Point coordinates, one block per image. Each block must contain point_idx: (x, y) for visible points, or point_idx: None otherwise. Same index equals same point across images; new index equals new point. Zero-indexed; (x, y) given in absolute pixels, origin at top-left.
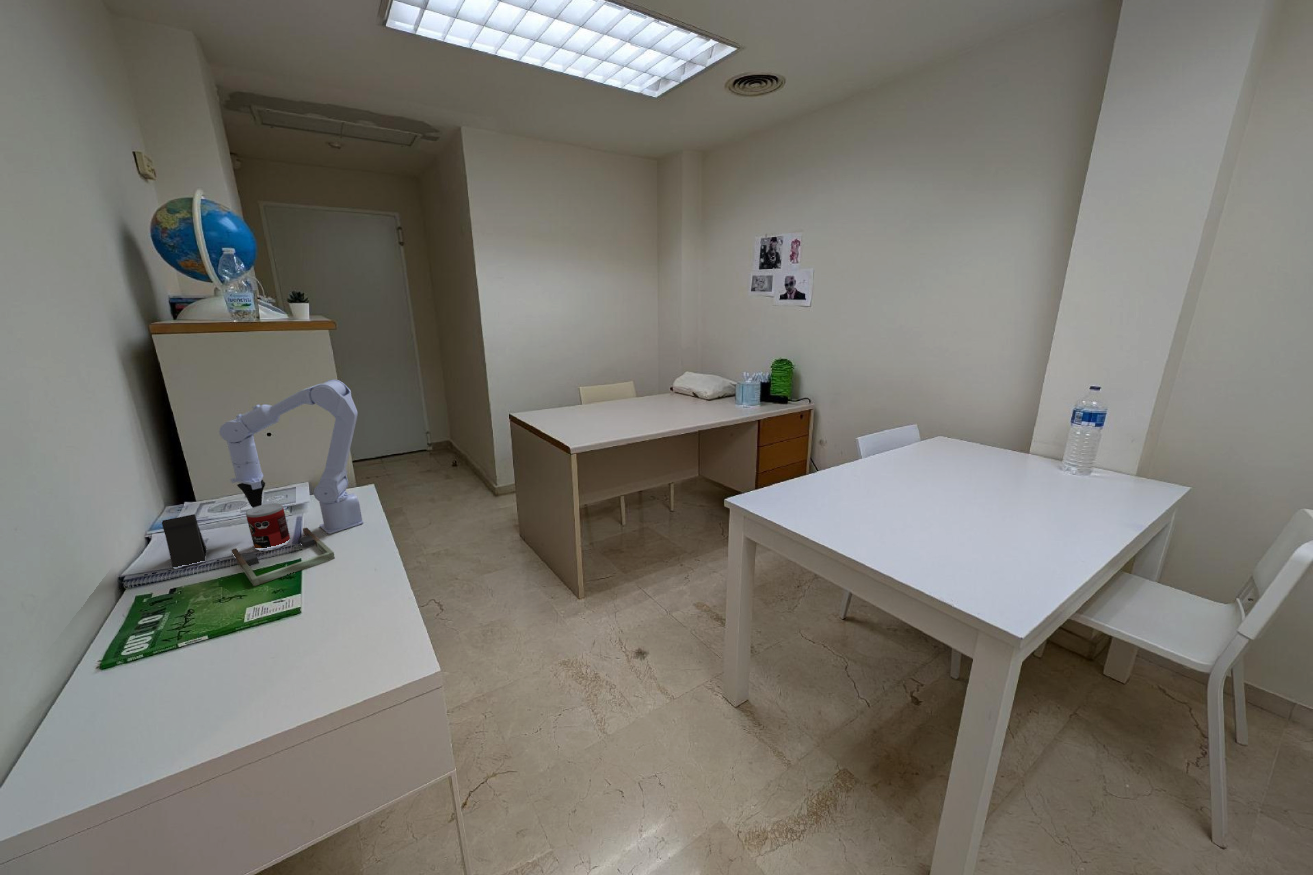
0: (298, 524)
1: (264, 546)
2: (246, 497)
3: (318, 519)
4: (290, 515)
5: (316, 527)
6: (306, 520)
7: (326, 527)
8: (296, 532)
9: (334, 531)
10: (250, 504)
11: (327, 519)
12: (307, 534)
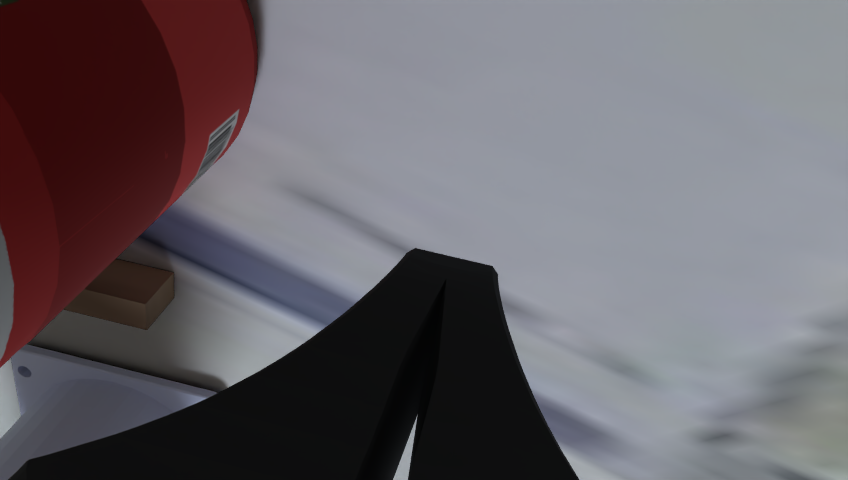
0: None
1: None
2: (493, 367)
3: None
4: (716, 436)
5: (236, 376)
6: None
7: (80, 389)
8: (262, 266)
9: (16, 377)
10: (394, 269)
11: (1, 449)
12: None
